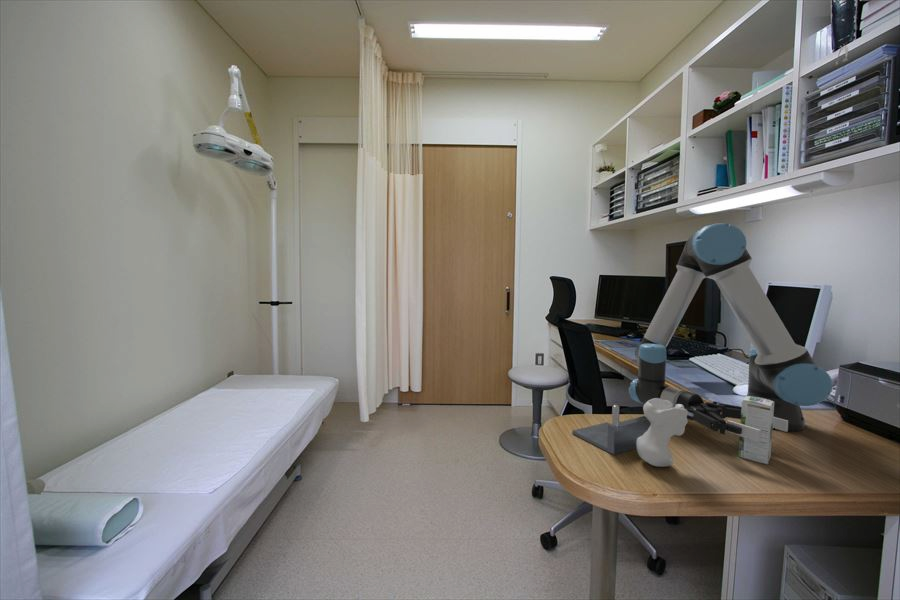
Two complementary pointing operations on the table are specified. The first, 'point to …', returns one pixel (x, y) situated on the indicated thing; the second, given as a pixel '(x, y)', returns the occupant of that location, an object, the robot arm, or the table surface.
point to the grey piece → (615, 433)
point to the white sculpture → (661, 431)
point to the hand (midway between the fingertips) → (774, 431)
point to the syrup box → (759, 417)
